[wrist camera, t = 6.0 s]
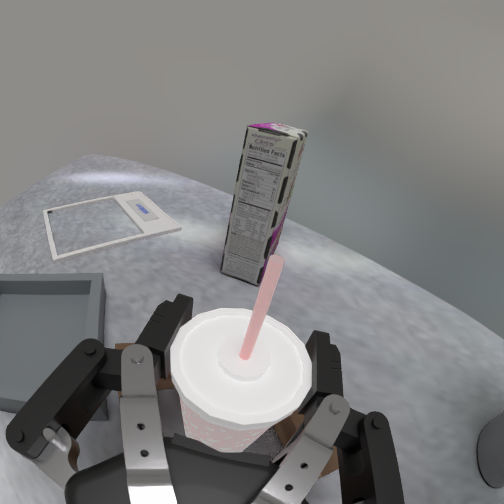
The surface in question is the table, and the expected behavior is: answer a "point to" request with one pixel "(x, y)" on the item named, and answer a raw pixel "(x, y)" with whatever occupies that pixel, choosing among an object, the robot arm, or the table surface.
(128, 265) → the table surface
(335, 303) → the table surface
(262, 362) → the beverage cup
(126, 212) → the photo frame
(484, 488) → the table surface
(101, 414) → the tray
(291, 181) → the candy bar box
